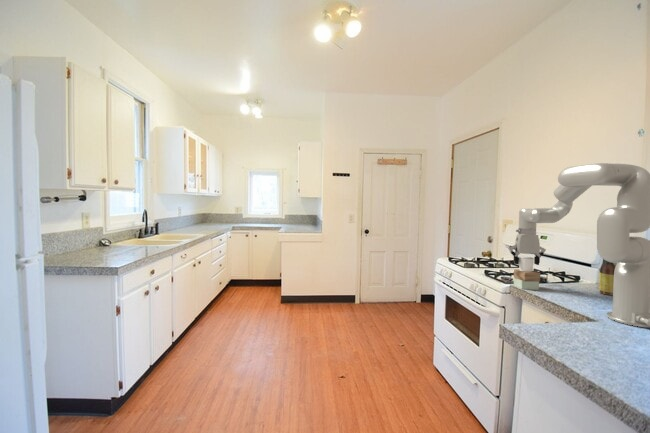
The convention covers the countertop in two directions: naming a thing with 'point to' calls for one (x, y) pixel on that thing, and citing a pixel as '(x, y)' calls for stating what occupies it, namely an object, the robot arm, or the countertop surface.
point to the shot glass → (526, 264)
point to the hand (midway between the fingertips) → (526, 264)
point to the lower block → (526, 284)
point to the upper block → (527, 276)
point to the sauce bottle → (606, 277)
